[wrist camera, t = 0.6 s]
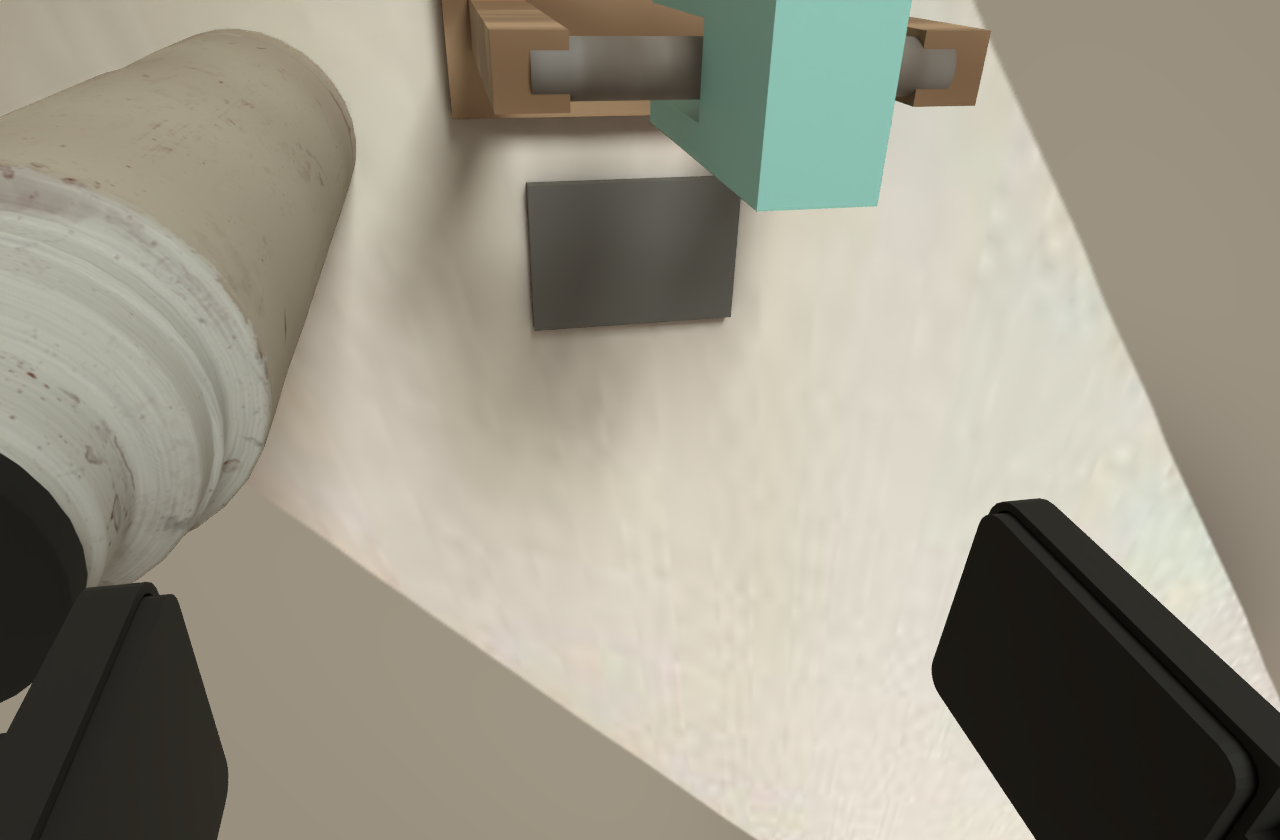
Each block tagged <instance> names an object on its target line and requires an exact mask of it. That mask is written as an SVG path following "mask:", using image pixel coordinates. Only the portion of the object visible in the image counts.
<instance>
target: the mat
mask: <svg viewBox="0 0 1280 840" xmlns="http://www.w3.org/2000/svg"><path fill="white" fill-rule="evenodd" d="M526 186H527V206H528V226H529V246H530V266H531V286H532V306H533V326H534V330H535V331H539V330H553V329H567V328H581V327H595V326H609V325H623V324H638V323H652V322H666V321H680V320H694V319H708V318H722V317H731V307H732V295H733V282H734V270H735V258H736V246H737V234H738V222H739V210H740V197H739V196H738V195H737V194H735V193H734V192H733V191H732V190H731V189H730V188H728V187H727V186H726V185H725V184H724V183H722V182H721V181H720V180H719V179H718V178H716V177H715V176H701V177H672V178H644V179H615V180H587V181H558V182H530V183H526Z"/></svg>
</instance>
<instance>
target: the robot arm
mask: <svg viewBox="0 0 1280 840" xmlns="http://www.w3.org/2000/svg"><path fill="white" fill-rule="evenodd" d="M932 678H933V682H934V685H935V688H936V690H937V692H938V693H939V695H940V697H941V698H942V700H943V701H944V703H945V704H946V706H947V707H948V709H949V710H950V712H951V713H952V715H953V716H954V718H955V719H956V721H957V722H958V724H959V725H960V727H961V728H962V730H963V731H964V733H965V734H966V736H967V737H968V738H969V740H970V741H971V743H972V744H973V746H974V747H975V749H976V750H977V752H978V753H979V755H980V756H981V758H982V759H983V761H984V762H985V764H986V765H987V767H988V768H989V770H990V771H991V773H992V774H993V776H994V777H995V779H996V780H997V782H998V783H999V785H1000V786H1001V788H1002V789H1003V791H1004V792H1005V794H1006V795H1007V797H1008V798H1009V800H1010V801H1011V803H1012V804H1013V806H1014V807H1015V809H1016V810H1017V812H1018V813H1019V815H1020V816H1021V818H1022V819H1023V821H1024V822H1025V824H1026V825H1027V827H1028V828H1029V830H1030V831H1031V833H1032V834H1033V836H1034V837H1035V839H1036V840H1280V713H1279V712H1278V711H1277V710H1276V709H1275V708H1274V707H1273V706H1272V705H1271V704H1270V703H1269V702H1268V701H1266V700H1265V699H1264V698H1263V697H1262V696H1261V695H1260V694H1259V693H1258V692H1257V691H1256V690H1255V689H1253V688H1252V687H1251V686H1250V685H1249V684H1248V683H1247V682H1246V681H1245V680H1244V679H1243V678H1241V677H1240V676H1239V675H1238V674H1237V673H1236V672H1235V671H1234V670H1233V669H1232V668H1231V667H1230V666H1228V665H1227V664H1226V663H1225V662H1224V661H1223V660H1222V659H1221V658H1220V657H1219V656H1218V655H1217V654H1215V653H1214V652H1213V651H1212V650H1211V649H1210V648H1209V647H1208V646H1207V645H1206V644H1205V643H1203V642H1202V641H1201V640H1200V639H1199V638H1198V637H1197V636H1196V635H1195V634H1194V633H1193V632H1192V631H1190V630H1189V629H1188V628H1187V627H1186V626H1185V625H1184V624H1183V623H1182V622H1181V621H1180V620H1179V619H1177V618H1176V617H1175V616H1174V615H1173V614H1172V613H1171V612H1170V611H1169V610H1168V609H1167V608H1165V607H1164V606H1163V605H1162V604H1161V603H1160V602H1159V601H1158V600H1157V599H1156V598H1155V597H1154V596H1152V595H1151V594H1150V593H1149V592H1148V591H1147V590H1146V589H1145V588H1144V587H1143V586H1142V585H1141V584H1139V583H1138V582H1137V581H1136V580H1135V579H1134V578H1133V577H1132V576H1131V575H1130V574H1129V573H1128V572H1126V571H1125V570H1124V569H1123V568H1122V567H1121V566H1120V565H1119V564H1118V563H1117V562H1116V561H1114V560H1113V559H1112V558H1111V557H1110V556H1109V555H1108V554H1107V553H1106V552H1105V551H1104V550H1103V549H1101V548H1100V547H1099V546H1098V545H1097V544H1096V543H1095V542H1094V541H1093V540H1092V539H1091V538H1090V537H1088V536H1087V535H1086V534H1085V533H1084V532H1083V531H1082V530H1081V529H1080V528H1079V527H1078V526H1076V525H1075V524H1074V523H1073V522H1072V521H1071V520H1070V519H1069V518H1068V517H1067V516H1066V515H1065V514H1063V513H1062V512H1061V511H1060V510H1059V509H1058V508H1057V507H1056V506H1055V505H1054V504H1052V503H1051V502H1049V501H1048V500H1045V499H1040V498H1038V499H1028V500H1017V501H1006V502H1001V503H997V504H996V505H995V506H994V507H992V509H991V510H990V512H989V514H988V515H986V516H985V517H983V518H982V519H981V521H980V523H979V526H978V529H977V532H976V535H975V538H974V541H973V544H972V547H971V549H970V552H969V555H968V558H967V561H966V564H965V567H964V570H963V573H962V576H961V579H960V582H959V585H958V588H957V591H956V594H955V597H954V600H953V603H952V606H951V609H950V612H949V615H948V618H947V621H946V624H945V627H944V630H943V633H942V636H941V639H940V641H939V644H938V647H937V650H936V653H935V656H934V659H933V663H932ZM227 790H228V767H227V762H226V758H225V755H224V751H223V748H222V745H221V741H220V738H219V735H218V731H217V728H216V725H215V721H214V718H213V715H212V712H211V708H210V705H209V702H208V699H207V695H206V692H205V688H204V685H203V682H202V678H201V675H200V672H199V669H198V665H197V662H196V658H195V655H194V652H193V648H192V645H191V642H190V639H189V635H188V632H187V629H186V625H185V622H184V619H183V615H182V612H181V609H180V606H179V603H178V600H177V598H176V597H175V596H174V595H172V594H167V595H159V593H158V591H157V589H156V587H155V586H154V585H153V584H152V583H149V582H142V583H131V584H121V585H110V586H99V587H89V588H86V589H85V590H83V591H82V592H81V593H80V595H79V596H78V597H77V599H76V601H75V603H74V604H73V606H72V608H71V610H70V612H69V614H68V616H67V618H66V620H65V622H64V624H63V626H62V627H61V629H60V631H59V633H58V635H57V637H56V639H55V641H54V643H53V645H52V647H51V649H50V650H49V652H48V654H47V656H46V658H45V660H44V662H43V664H42V666H41V668H40V670H39V672H38V673H37V675H36V677H35V679H34V681H33V683H32V685H31V687H30V689H29V691H28V693H27V694H26V696H25V698H24V700H23V702H22V704H21V706H20V708H19V710H18V712H17V714H16V716H15V717H14V719H13V721H12V723H11V725H10V727H9V729H8V731H7V733H2V734H0V840H217V837H218V832H219V828H220V824H221V819H222V815H223V810H224V806H225V802H226V797H227Z"/></svg>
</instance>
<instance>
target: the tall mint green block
mask: <svg viewBox="0 0 1280 840" xmlns="http://www.w3.org/2000/svg"><path fill="white" fill-rule="evenodd" d="M911 2H912V0H653V3H656V4H659V5H662V6H666V7H669V8H672V9H676V10H679V11H682V12H686V13H689V14H692V15H696V16H699V17H703V18H704V35H703V53H702V72H701V90H700V100H650V122H651V123H652V124H653V125H655V126H656V127H657V128H658V129H659V130H661V131H662V132H663V133H664V134H665V135H667V136H668V137H669V138H670V139H671V140H672V141H674V142H675V143H676V144H677V145H678V146H680V147H681V148H682V149H683V150H684V151H686V152H687V153H688V154H689V155H690V156H691V157H693V158H694V159H695V160H696V161H697V162H699V163H700V164H701V165H702V166H703V167H705V168H706V169H707V170H708V171H709V172H710V173H712V174H713V175H714V176H715V177H716V178H718V179H719V180H720V181H721V182H722V183H724V184H725V185H726V186H727V187H728V188H730V189H731V190H732V191H733V192H734V193H735V194H737V195H738V196H739V197H740V198H741V199H743V200H744V201H745V202H746V203H747V204H749V205H750V206H751V207H752V208H753V209H754V210H756V211H777V210H800V209H822V208H845V207H867V206H877V204H878V199H879V193H880V187H881V181H882V175H883V169H884V163H885V157H886V151H887V145H888V139H889V133H890V127H891V121H892V115H893V109H894V103H895V97H896V91H897V86H898V80H899V74H900V68H901V62H902V56H903V50H904V44H905V38H906V32H907V26H908V20H909V14H910V8H911Z"/></svg>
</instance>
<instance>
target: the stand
mask: <svg viewBox="0 0 1280 840" xmlns="http://www.w3.org/2000/svg"><path fill="white" fill-rule="evenodd" d="M441 1H442V12H443V23H444V34H445V44H446V55H447V66H448V77H449V88H450V99H451V110H452V119H480V118H532V117H583V116H634V115H650V100H700V90H701V72H702V53H703V35H704V18H703V17H699V16H696V15H692V14H689V13H686V12H682V11H679V10H676V9H672V8H669V7H666V6H662V5H659V4H656V3H653V0H441ZM990 33H991V31H990V30H984V29H978V28H973V27H967V26H961V25H955V24H949V23H943V22H937V21H931V20H925V19H919V18H913V17H909V20H908V26H907V32H906V38H905V44H904V50H903V56H902V62H901V68H900V74H899V80H898V86H897V91H896V97H895V100H896V101H898V102H901V103H904V104H907V105H910V106H913V107H923V106H975V103H976V98H977V94H978V89H979V84H980V80H981V75H982V71H983V66H984V61H985V57H986V52H987V47H988V43H989V38H990Z"/></svg>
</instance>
